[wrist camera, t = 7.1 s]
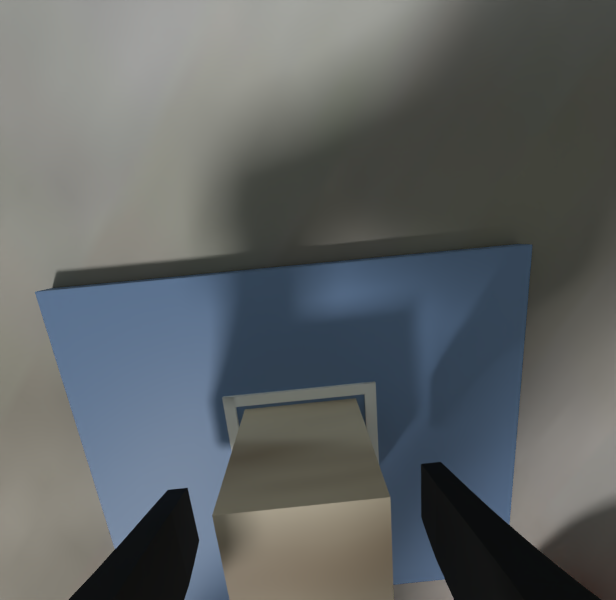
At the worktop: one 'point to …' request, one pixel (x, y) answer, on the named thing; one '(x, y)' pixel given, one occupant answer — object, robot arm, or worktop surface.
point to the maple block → (305, 507)
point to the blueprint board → (297, 379)
